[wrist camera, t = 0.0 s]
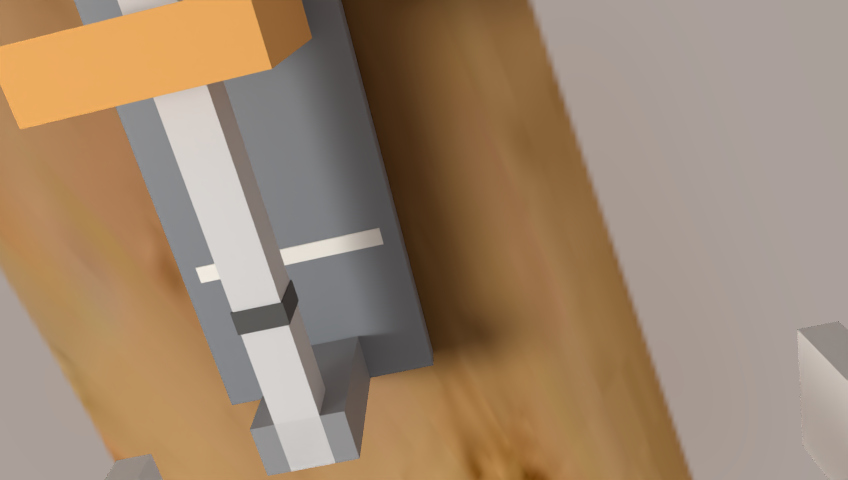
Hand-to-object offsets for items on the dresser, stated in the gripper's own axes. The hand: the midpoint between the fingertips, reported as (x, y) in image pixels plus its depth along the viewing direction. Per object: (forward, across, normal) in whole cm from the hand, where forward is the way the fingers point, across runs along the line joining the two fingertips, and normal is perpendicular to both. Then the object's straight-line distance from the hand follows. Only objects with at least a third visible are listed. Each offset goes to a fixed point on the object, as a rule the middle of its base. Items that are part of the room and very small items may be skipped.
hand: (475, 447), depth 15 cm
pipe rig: (+28, -10, 0) cm, 30 cm away
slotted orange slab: (+25, -10, +8) cm, 28 cm away
